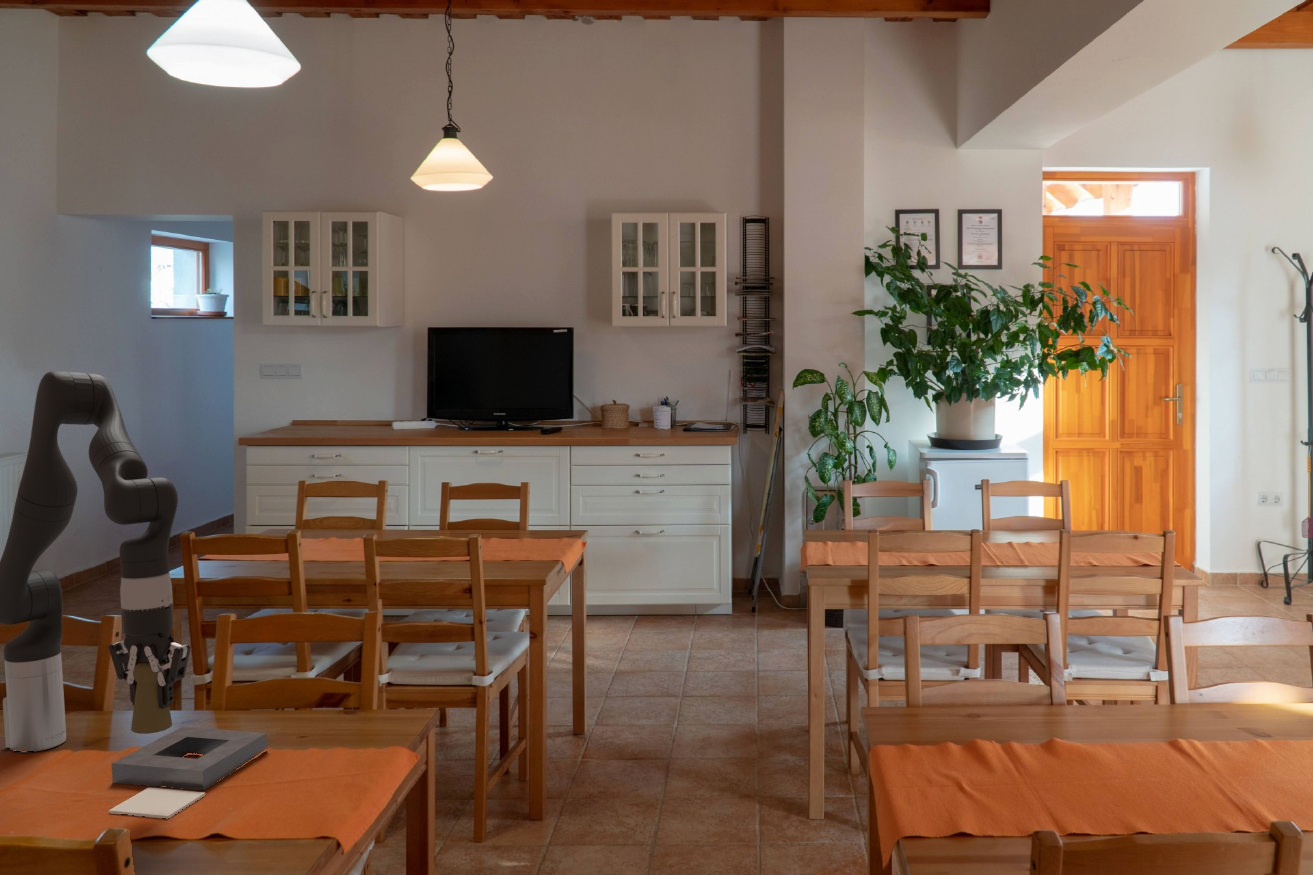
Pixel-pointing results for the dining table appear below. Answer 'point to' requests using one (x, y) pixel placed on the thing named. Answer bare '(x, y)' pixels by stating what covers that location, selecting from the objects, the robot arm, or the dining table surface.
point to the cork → (148, 702)
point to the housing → (169, 769)
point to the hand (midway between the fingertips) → (152, 705)
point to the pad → (157, 803)
